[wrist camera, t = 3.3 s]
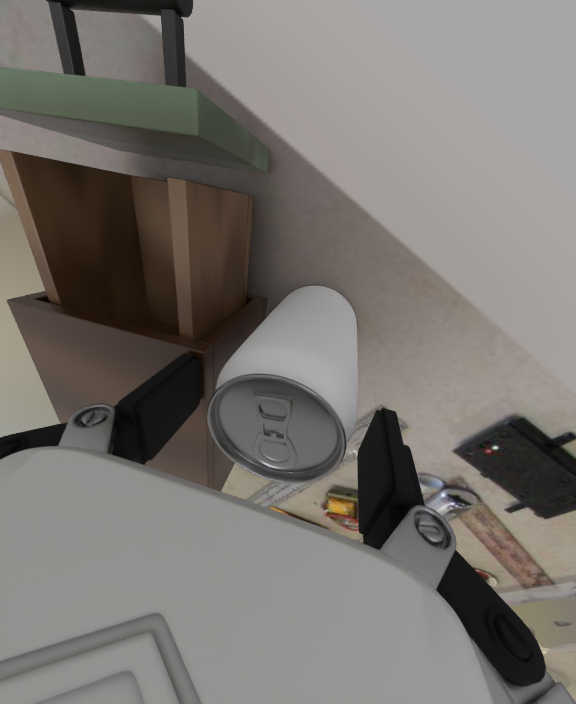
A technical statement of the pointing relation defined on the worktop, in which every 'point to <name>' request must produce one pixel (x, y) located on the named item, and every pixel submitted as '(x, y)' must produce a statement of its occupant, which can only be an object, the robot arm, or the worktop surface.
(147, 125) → the drawer
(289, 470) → the can
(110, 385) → the cabinet
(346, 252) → the worktop surface
